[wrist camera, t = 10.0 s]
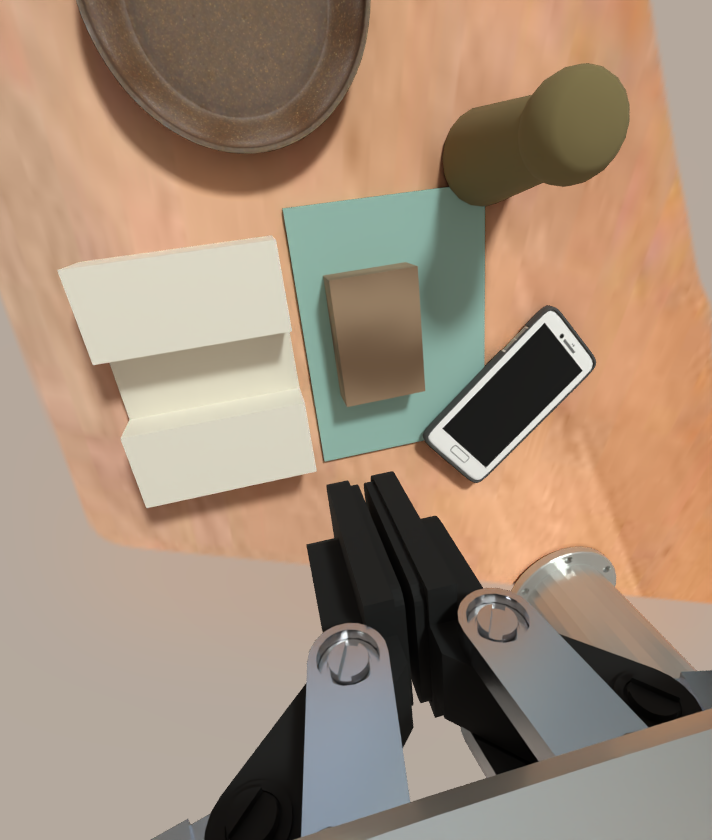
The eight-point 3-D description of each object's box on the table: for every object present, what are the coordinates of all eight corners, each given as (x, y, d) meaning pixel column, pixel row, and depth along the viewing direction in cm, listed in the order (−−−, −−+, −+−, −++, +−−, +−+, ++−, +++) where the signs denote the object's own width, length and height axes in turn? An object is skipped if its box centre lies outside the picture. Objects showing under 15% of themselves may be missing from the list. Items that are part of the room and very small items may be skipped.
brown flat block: (347, 407, 35) (340, 394, 37) (425, 391, 36) (414, 380, 38) (329, 280, 31) (322, 275, 33) (417, 266, 32) (405, 262, 34)
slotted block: (309, 446, 38) (316, 471, 35) (155, 478, 37) (146, 508, 33) (271, 235, 31) (275, 239, 28) (78, 261, 30) (57, 270, 26)
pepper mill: (442, 106, 31) (542, 40, 21) (527, 104, 32) (662, 41, 22) (442, 209, 33) (533, 195, 23) (522, 204, 34) (642, 188, 24)
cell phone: (416, 434, 40) (421, 439, 39) (546, 299, 37) (554, 301, 37) (471, 481, 43) (476, 487, 42) (593, 360, 41) (601, 363, 40)
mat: (482, 426, 41) (484, 427, 41) (324, 459, 39) (324, 461, 39) (483, 182, 33) (485, 182, 33) (282, 208, 31) (282, 208, 31)
